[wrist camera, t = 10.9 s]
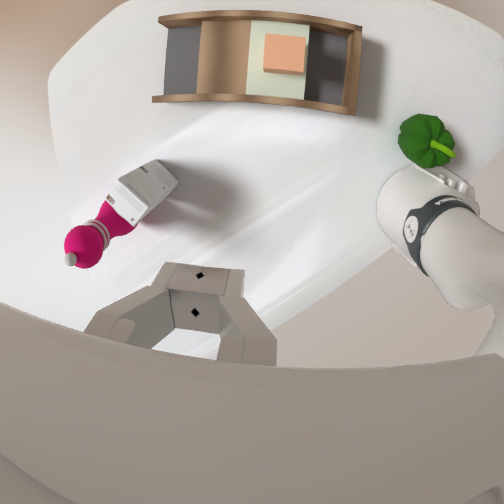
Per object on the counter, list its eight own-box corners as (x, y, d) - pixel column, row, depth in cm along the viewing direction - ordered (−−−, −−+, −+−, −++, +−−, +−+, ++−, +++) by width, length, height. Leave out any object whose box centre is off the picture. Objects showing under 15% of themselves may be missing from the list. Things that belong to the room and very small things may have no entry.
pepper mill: (113, 185, 44) (42, 235, 27) (147, 186, 44) (81, 240, 27) (117, 221, 48) (56, 281, 30) (150, 223, 48) (94, 290, 30)
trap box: (352, 34, 29) (362, 26, 24) (345, 114, 36) (355, 115, 31) (170, 24, 29) (158, 16, 25) (164, 102, 36) (151, 102, 32)
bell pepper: (380, 134, 37) (408, 144, 28) (410, 103, 33) (443, 105, 24) (410, 170, 39) (440, 189, 30) (438, 140, 35) (472, 152, 27)
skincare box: (180, 181, 43) (151, 207, 33) (165, 199, 45) (134, 229, 35) (154, 157, 41) (118, 176, 31) (140, 176, 43) (103, 200, 33)
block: (302, 44, 28) (305, 37, 25) (300, 75, 31) (303, 72, 28) (266, 40, 29) (265, 33, 25) (263, 72, 31) (262, 68, 28)
